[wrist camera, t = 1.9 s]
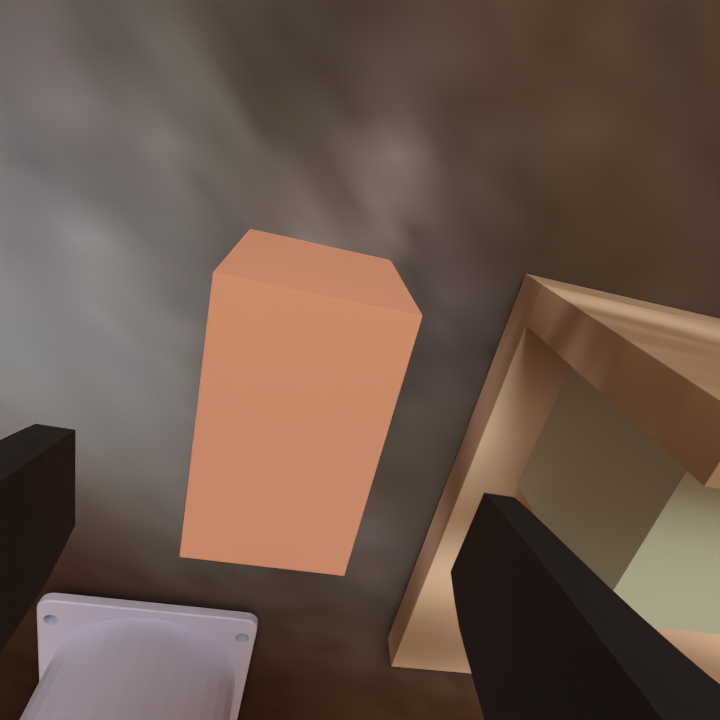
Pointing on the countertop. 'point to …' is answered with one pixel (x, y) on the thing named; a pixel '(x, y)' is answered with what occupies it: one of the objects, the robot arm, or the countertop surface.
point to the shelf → (527, 418)
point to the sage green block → (627, 510)
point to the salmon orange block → (294, 402)
